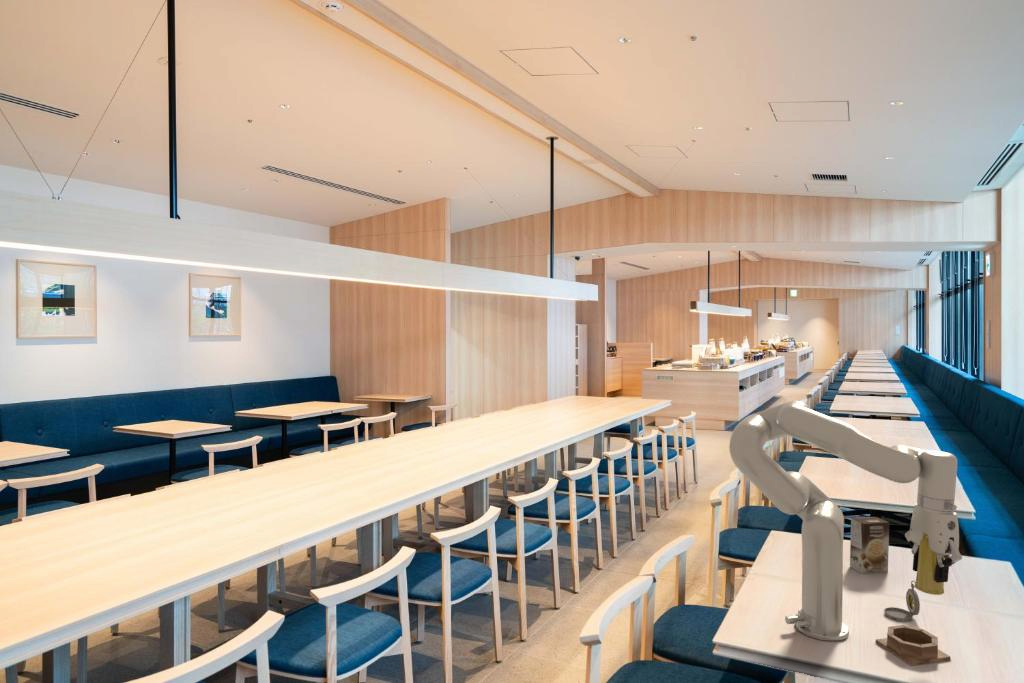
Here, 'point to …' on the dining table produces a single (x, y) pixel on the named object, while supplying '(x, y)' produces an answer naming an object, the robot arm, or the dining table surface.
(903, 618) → the pocket watch
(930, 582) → the vase
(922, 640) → the collar
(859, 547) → the coffee box
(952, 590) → the dining table surface
